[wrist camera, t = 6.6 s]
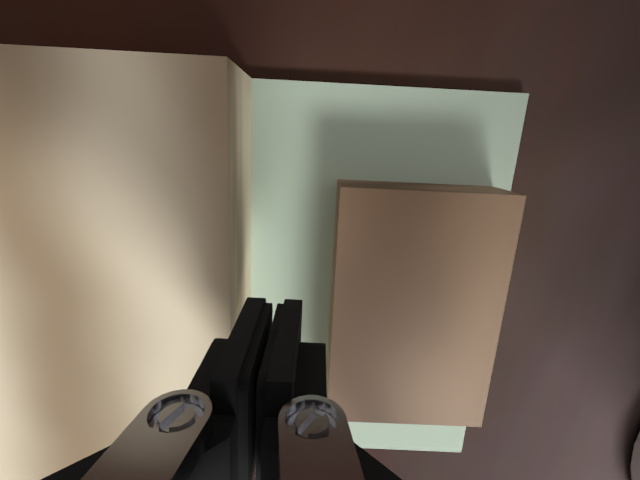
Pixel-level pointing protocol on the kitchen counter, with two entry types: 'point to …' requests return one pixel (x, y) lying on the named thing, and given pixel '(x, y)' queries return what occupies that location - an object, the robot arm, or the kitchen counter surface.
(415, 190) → the brown box
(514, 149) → the mat
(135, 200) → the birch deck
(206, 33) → the kitchen counter surface
